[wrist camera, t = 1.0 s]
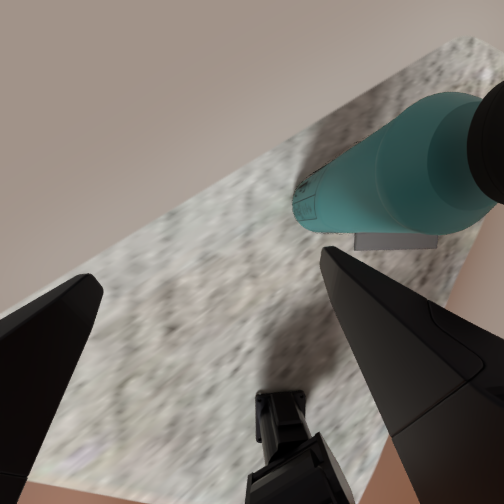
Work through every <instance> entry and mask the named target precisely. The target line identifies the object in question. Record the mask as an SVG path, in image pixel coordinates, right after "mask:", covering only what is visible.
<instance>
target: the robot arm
mask: <svg viewBox="0 0 504 504" xmlns="http://www.w3.org/2000/svg"><path fill="white" fill-rule="evenodd" d="M320 270H321V273H322V276H323V279H324V283H325V286H326V289H327V292H328V295H329V299H330V302H331V304H332V307H333V309H334V311H335V313H336V316H337V318H338V320H339V322H340V325H341V327H342V329H343V331H344V334H345V336H346V338H347V340H348V343H349V345H350V347H351V349H352V351H353V354H354V356H355V358H356V360H357V363H358V365H359V367H360V369H361V372H362V374H363V376H364V378H365V381H366V383H367V385H368V387H369V390H370V392H371V394H372V396H373V398H374V401H375V403H376V405H377V407H378V410H379V412H380V414H381V416H382V419H383V421H384V423H385V425H386V428H387V430H388V432H389V434H390V436H391V437H392V441H393V444H394V446H395V448H396V450H397V452H398V455H399V457H400V459H401V461H402V464H403V466H404V468H405V471H406V473H407V475H408V477H409V479H410V482H411V484H412V486H413V488H414V491H415V493H416V495H417V497H418V500H419V502H420V504H504V339H502V338H500V337H498V336H496V335H494V334H492V333H490V332H488V331H486V330H484V329H482V328H480V327H478V326H476V325H474V324H473V323H471V322H468V321H467V320H465V319H463V318H461V317H459V316H457V315H456V314H454V313H452V312H450V311H448V310H446V309H445V308H443V307H441V306H439V305H437V304H436V303H434V302H432V301H430V300H427V299H426V298H425V297H423V296H421V295H420V294H418V293H416V292H414V291H413V290H411V289H409V288H407V287H405V286H404V285H402V284H400V283H398V282H397V281H395V280H393V279H391V278H390V277H388V276H386V275H384V274H382V273H381V272H379V271H377V270H375V269H374V268H372V267H370V266H368V265H367V264H365V263H363V262H361V261H359V260H358V259H356V258H354V257H352V256H351V255H349V254H347V253H345V252H343V251H342V250H340V249H338V248H336V247H334V246H328V247H323V248H322V251H321V258H320ZM103 292H104V291H103V287H102V286H101V285H100V283H99V282H98V281H97V280H96V278H95V277H94V276H93V275H92V274H89V273H87V274H79V275H77V276H75V277H73V278H71V279H70V280H68V281H66V282H64V283H63V284H61V285H59V286H58V287H56V288H54V289H52V290H51V291H49V292H47V293H46V294H44V295H42V296H40V297H39V298H37V299H35V300H33V301H32V302H30V303H28V304H27V305H25V306H23V307H21V308H20V309H18V310H16V311H15V312H13V313H11V314H9V315H8V316H6V317H4V318H3V319H1V320H0V504H17V502H18V499H19V497H20V495H21V493H22V490H23V488H24V486H25V483H26V481H27V479H28V477H27V476H28V475H29V473H30V471H31V469H32V467H33V464H34V462H35V460H36V457H37V455H38V453H39V450H40V448H41V446H42V443H43V441H44V439H45V437H46V434H47V432H48V430H49V427H50V425H51V423H52V420H53V418H54V416H55V414H56V411H57V409H58V407H59V404H60V402H61V400H62V397H63V395H64V393H65V390H66V388H67V386H68V384H69V381H70V379H71V377H72V374H73V372H74V370H75V367H76V365H77V363H78V361H79V358H80V356H81V354H82V351H83V349H84V347H85V344H86V342H87V340H88V337H89V335H90V333H91V330H92V328H93V325H94V322H95V318H96V315H97V312H98V309H99V306H100V303H101V300H102V296H103ZM300 395H302V396H300ZM258 399H260V400H258ZM255 415H256V441H257V442H258V443H262V445H263V452H264V459H265V467H263V468H261V469H260V470H258V471H256V472H255V473H253V472H252V473H251V474H249V475H248V480H247V489H246V498H245V504H355V501H354V497H353V494H352V491H351V488H350V486H349V484H348V482H347V480H346V478H345V476H344V474H343V472H342V470H341V468H340V466H339V464H338V462H337V460H336V458H335V457H334V455H333V453H332V452H331V450H330V448H329V447H328V445H327V443H326V442H325V440H324V438H323V437H322V435H321V433H320V432H318V433H316V434H315V436H313V437H312V436H311V433H310V431H309V428H308V426H307V423H306V421H305V393H304V392H303V391H291V392H281V393H271V394H260V395H257V396H256V397H255Z"/></svg>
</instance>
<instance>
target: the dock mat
mask: <svg viewBox="0 0 504 504" xmlns="http://www.w3.org/2000/svg"><path fill="white" fill-rule="evenodd" d="M362 233H364V234H362ZM355 234H356V235H355V242H354V250H355V251H363V250H398V249H434V248H437V243H438V235H426V234H421V233H375V232H359V233H355Z"/></svg>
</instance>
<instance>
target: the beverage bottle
mask: <svg viewBox="0 0 504 504" xmlns="http://www.w3.org/2000/svg"><path fill="white" fill-rule="evenodd" d="M364 138H365V137H364ZM362 139H363V138H362ZM356 143H357V142H356ZM342 152H343V151H342ZM328 162H329V161H328ZM325 164H326V163H325ZM318 170H319V171H318ZM318 170H317V171H314V173H315V172H316V173H315V174H313V173H312V174H313V175H312V176H310V177H309V178H308V179H306V180H305V181H303V180H302V182H301V184H299V187H297V190H296V189H295V190H296V191H294V192H295V194H293V195H294V197H293V198H292V199H293V204H292V205H293V209H292V210H293V212H294V213H293V214H294V215H295V216H294V217H296V218H295V219H297V221H298V222H299V223H300V224H301V225H302V226H303V227H304V228H306V229H308V230H310V231H313V232H325V233H327V234H329V233H336V234H337V233H359V232H375V233H421V234H426V235H447V234H451V233H455V232H458V231H461V230H464V229H466V228H468V227H470V226H472V225H473V224H475V223H476V222H478V221H479V220H480V219H481V218H483V217H484V216H485V215H486V214H487V213H488V212H489V211H490V210H491V209H492V208H493V207H494V206H495V205H496V204H497V203H500V204H503V205H504V81H502V82H501V83H499V84H498V85H496V86H495V87H494V88H493V89H492V90H491V91H490V92H489V93H488V94H487V95H486V96H485V97H484V98H483V99H482V98H479V97H476V96H473V95H469V94H466V93H459V92H444V93H438V94H434V95H431V96H427V97H425V98H423V99H421V100H419V101H417V102H416V103H414V104H413V105H411V106H410V107H408V108H407V109H406V110H404V111H403V112H402V113H401V114H400V115H399V116H398V117H396V118H395V119H394V120H392V121H391V122H389V123H388V124H386V125H385V126H383V127H382V128H380V129H379V130H378V131H376V132H375V133H373V134H371V135H370V136H369V137H367V138H366V139H365V140H363V141H362V142H360V143H358V144H357V145H355V146H354V147H352V148H351V149H349V150H348V151H346V152H345V153H343V154H342V155H340V156H339V157H338V158H336V159H335V160H333V161H332V162H330V163H329V164H327V165H325V166H323V167H322V168H320V169H318ZM310 175H311V174H310ZM306 178H307V177H306ZM320 234H324V233H320ZM362 234H364V233H362ZM345 235H347V234H345ZM355 235H356V234H355Z"/></svg>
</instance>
